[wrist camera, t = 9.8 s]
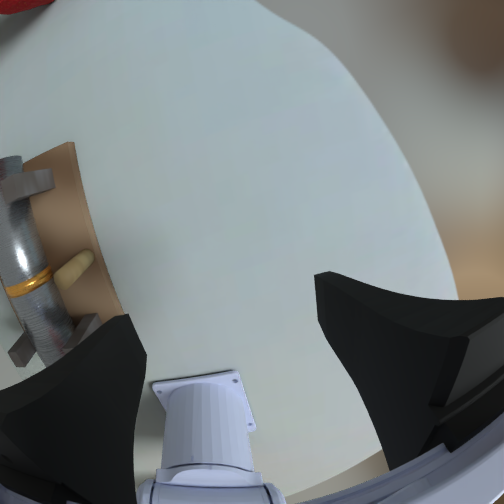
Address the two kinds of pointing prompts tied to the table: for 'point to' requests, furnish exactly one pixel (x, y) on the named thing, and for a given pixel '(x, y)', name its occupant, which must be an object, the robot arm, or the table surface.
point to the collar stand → (64, 243)
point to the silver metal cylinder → (30, 275)
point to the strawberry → (20, 5)
